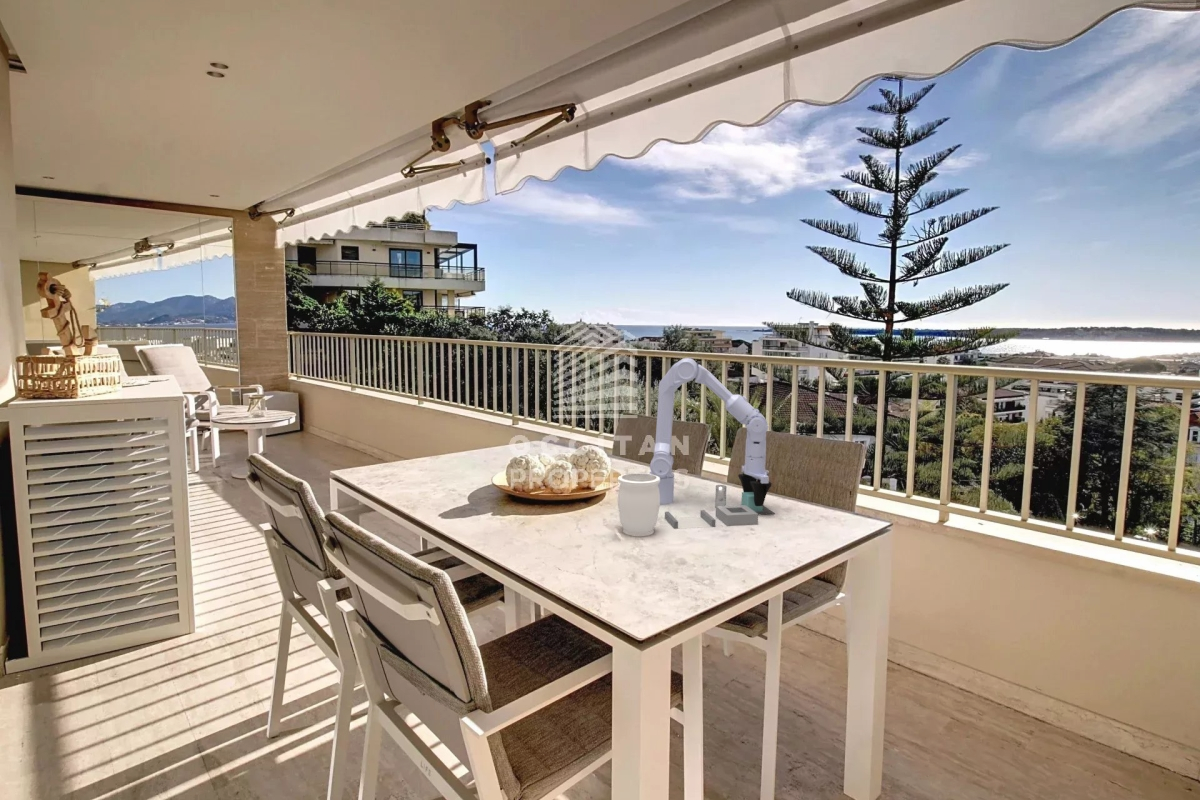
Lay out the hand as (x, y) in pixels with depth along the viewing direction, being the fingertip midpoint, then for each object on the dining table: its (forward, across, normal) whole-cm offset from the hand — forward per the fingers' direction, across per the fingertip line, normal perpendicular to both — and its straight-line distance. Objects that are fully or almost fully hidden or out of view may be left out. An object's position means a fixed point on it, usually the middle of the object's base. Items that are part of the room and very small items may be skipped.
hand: (753, 502), depth 183 cm
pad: (+2, 0, 0) cm, 2 cm away
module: (+2, 0, 0) cm, 2 cm away
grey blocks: (+2, -12, +17) cm, 21 cm away
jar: (+3, -17, +38) cm, 42 cm away
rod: (+2, 0, +10) cm, 10 cm away
